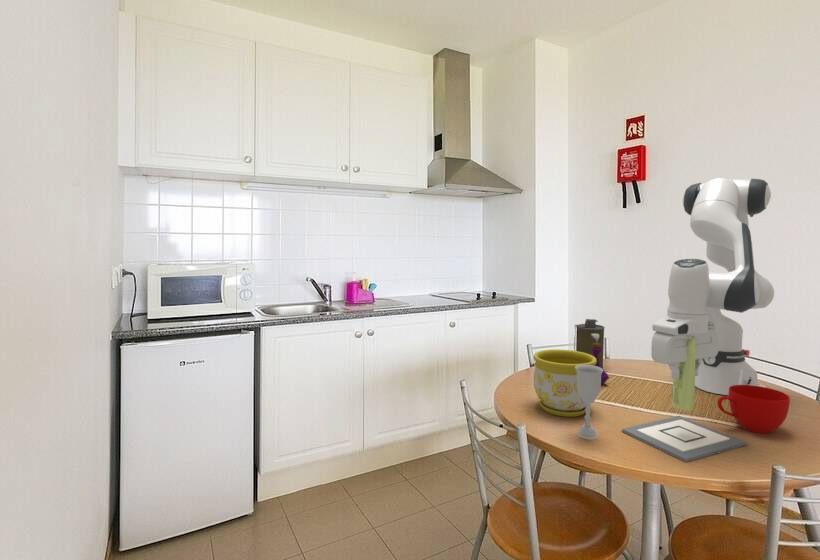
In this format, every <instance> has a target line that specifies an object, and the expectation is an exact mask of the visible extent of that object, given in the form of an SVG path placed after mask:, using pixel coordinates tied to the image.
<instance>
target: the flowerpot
mask: <svg viewBox="0 0 820 560" xmlns="http://www.w3.org/2000/svg"><path fill="white" fill-rule="evenodd" d="M533 359H534V373H533V387H534V390H535V391H534V392H535V394H536V395H537V398H538V400H539V401H538V404H539V405H540V407H541V408H542V409H543V411H545V412H546V413H549V414H551V415H554V416H557V417H568V418H571V417H572V418H573V417H580V416H583V415H584V414H586V411H585V409H586V403H584V402H583V401H582V399H581V397H580V394H579V392H578V389H577V371H576V369H575V366H577V365H593V366H594V365H595V364H596V363H597V360H596V358H595V357H594V356H592V355H590V354H587V353H583V352H578V351H576V350H575V351H574V350H571V349H570V350H569V349H543V350H540V351H537V352H535V353H534V354H533Z"/></svg>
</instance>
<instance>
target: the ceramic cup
mask: <svg viewBox="0 0 820 560" xmlns="http://www.w3.org/2000/svg"><path fill="white" fill-rule="evenodd" d="M724 400H728V403H729V408H730V412H729V411H727V410H726V409H724V407H723V405H722V404H723V401H724ZM790 400H791V398H790V396H789V395H788V394H787V393H785V392H783V391H780V390H777V389H773V388H770V387H766V388H765V387H760V386H752V385H733V386H730V387H729V395H723V396H722V395H721V396H719V398H718V399H717V406H718V407H717V408H719V410H720V411H721V412H722V413H724V414H726V415H727V416H729V417H734V419H735V420H736V421H737V423H739V425H740V426H741V428H743V429H744V430H747V431H750V432H753V433H757V434H771V433H772V432H774V431H775V430H777V429H778V428H780V427H781V426H782V424H784V422H785V420H786V419H787V416H788V414H789V408H790V402H791V401H790Z"/></svg>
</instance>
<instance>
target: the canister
mask: <svg viewBox="0 0 820 560" xmlns="http://www.w3.org/2000/svg"><path fill="white" fill-rule="evenodd" d="M598 322H599V321H598V320H597V319H595V318H593V319H591V318H585V322H584V323H579V324H574V328H576V336H575V338H574V342H573V343H574V345H573V349H574V350H573V351H578V352H583V353H587V354H590V355H592V356H593V351H592V350H591V347H593V343H599V344H601V348H603V351H601V352H600V353H599V357H598V360H599V364H600V365H601V367H602V368H603V369H604V351H605V348H604V347H605V346H604V344H605V328H606V327H605V326H604V325H600V324H596V323H598ZM591 334H599V339H598V340H596V339H595V338H592V337H591Z"/></svg>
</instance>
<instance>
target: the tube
mask: <svg viewBox="0 0 820 560" xmlns="http://www.w3.org/2000/svg"><path fill="white" fill-rule="evenodd" d="M687 346H688V347H687V360H686V361H685V362H680V366H678V368H679V371H680V372H682V378H681V379H674V378H672V379H673V382H672V393H671V406H672V407H673V408H674V409H677V410H681V411H687V412H688V411H689V412H690V411H693V410H694V408H695V407H694V406H695V393H696V392H695V390H696V389H695V388H696V386H695V336H693V339H690V340H689V341H688V344H687Z"/></svg>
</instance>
